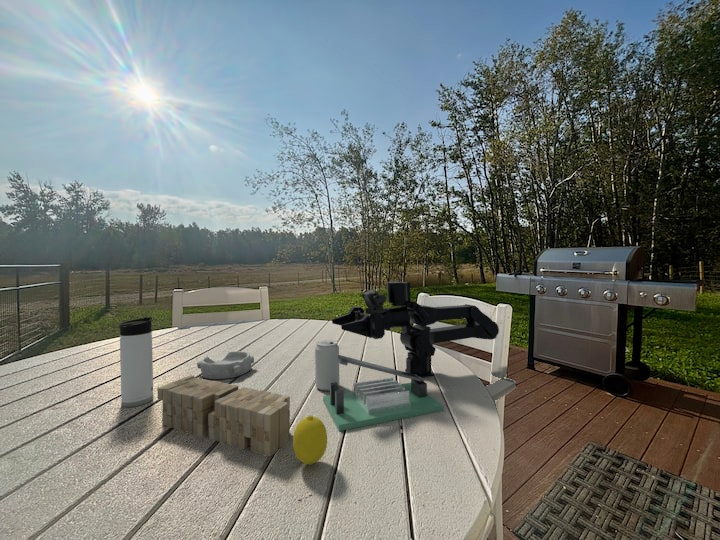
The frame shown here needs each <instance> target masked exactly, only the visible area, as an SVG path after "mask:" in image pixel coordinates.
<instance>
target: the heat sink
mask: <svg viewBox="0 0 720 540" xmlns="http://www.w3.org/2000/svg"><path fill="white" fill-rule="evenodd" d="M410 383H411V392H413V393H414V394H415V395H416V396H418V397H419V398H422V397H427V394H428V383H427V382H425V381H424V382H422V383H421V382H420V381H417V380H413V379H410ZM401 384H402V383H400V382H398V380H396V379H394V378H393V376H392V377H386V378H385V377H384V378H378V379H372V380H366V381H365V380H364V381H357V382H354V383H353V387H354V388H353V391H352V392H353V395H354V396H355V398H356V399H357V400H358V402H359V403H360V404H361V405H362V407H363V408H364V409H365V410H366V412H367V413H368V414H372V413H377V412H383V411H388V410H393V409H399V408H404V407H410V406H411V402H410V401H409V390H405V387H404V386H402V387H401ZM344 393H345V392H344V390H343V389H339V386H338V383H337V382H334V383H330V391H329V395H330V404H331V405H335V413H336V414H343V413H344Z"/></svg>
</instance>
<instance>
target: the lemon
mask: <svg viewBox="0 0 720 540" xmlns="http://www.w3.org/2000/svg"><path fill="white" fill-rule="evenodd" d="M327 447H328V432H327V429H326V426H325V424H324V422H323V421H322V420H321V419H320V418H318V417H317V416H313V415H311V414H309V415H308V416H305V417H304V418H302V419H301V420H299V422H298V423H297V424H296V426H295V430H294V431H293V436H292V448H293V452H294V454H295V456H296V458H297V459H298V460H299V461H300V462H301V463H303V464H306V465H309V466H312V465H313V464H315V463H317V462H319V461H320V460H321V459H322V458H323V456H324V455H325V453H326V451H327V450H326V449H327Z"/></svg>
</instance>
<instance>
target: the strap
mask: <svg viewBox="0 0 720 540" xmlns="http://www.w3.org/2000/svg"><path fill="white" fill-rule="evenodd" d="M337 361H338V362H339V365H343V366H348V364H350V365H354V366H358V367H363V368H365V369H371V370H374V371H377V372H382V373H386V374H390V375H395V376H398V377H402V378H406V379H410V380H411V379H413V380H417V381H420V382H421V383H422V382H425V379H424V378H423V377H420V376H418V375H417V374H415V375H414V374H410V373H407V372H406V371H402V370H398V369H395V368H390V367H386V366H383V365H379V364H375V363H371V362H368V361H364V360H361V359H356V358H353V357H348V356H345V355H341V354H339V355H338V357H337Z"/></svg>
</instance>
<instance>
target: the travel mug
mask: <svg viewBox="0 0 720 540" xmlns="http://www.w3.org/2000/svg"><path fill="white" fill-rule="evenodd" d="M152 321H153V319H152V316H151V317H150V316H145V317H142V318H135V319H130V320H126V321H123V322H122V323H120V324H119V354H120V355H119V356H120V359H119V361H120V397H121V399H120V400H121V401H120V403H121V406H122V407H124V408H134V407H139V406H143V405H146V404H148V403H149V402H151V401H152V400H153V399H154V374H153V373H154V372H153V371H154V368H153V366H154V365H153V363H154V362H153V358H154V357H153V330H152V326H153V325H152Z"/></svg>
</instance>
